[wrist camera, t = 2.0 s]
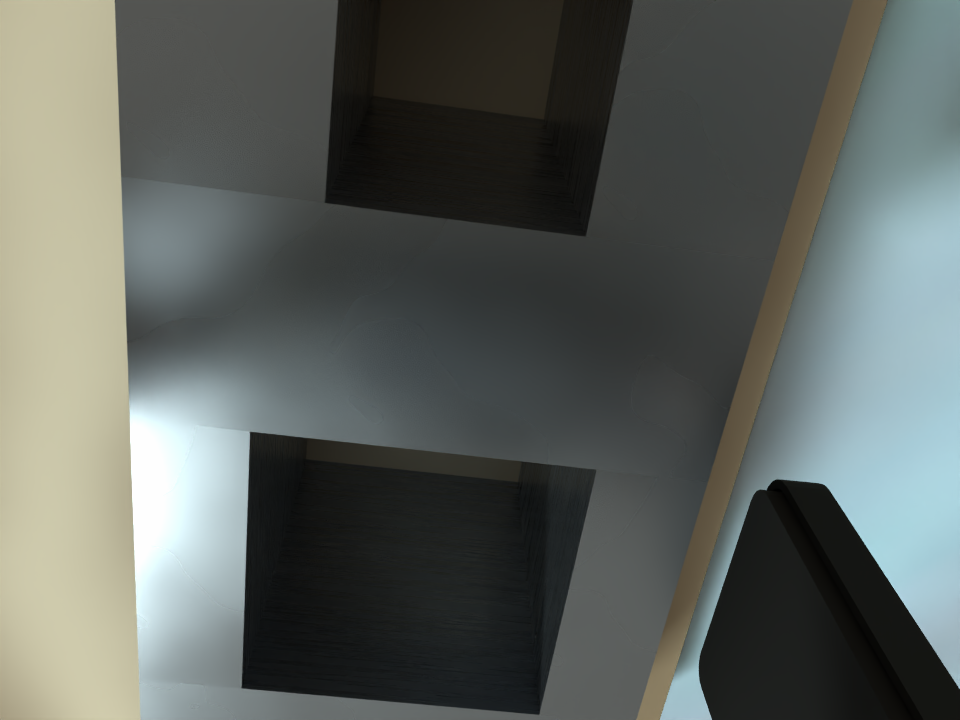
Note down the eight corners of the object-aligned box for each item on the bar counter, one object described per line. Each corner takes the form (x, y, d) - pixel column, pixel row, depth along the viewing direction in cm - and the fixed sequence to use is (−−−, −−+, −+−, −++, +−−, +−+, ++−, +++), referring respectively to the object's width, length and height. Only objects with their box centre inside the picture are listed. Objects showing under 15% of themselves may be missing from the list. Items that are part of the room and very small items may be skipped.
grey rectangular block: (528, 742, 19) (549, 1010, 14) (227, 716, 18) (149, 985, 14) (737, -159, 11) (911, -193, 7) (249, -240, 11) (102, -333, 6)
